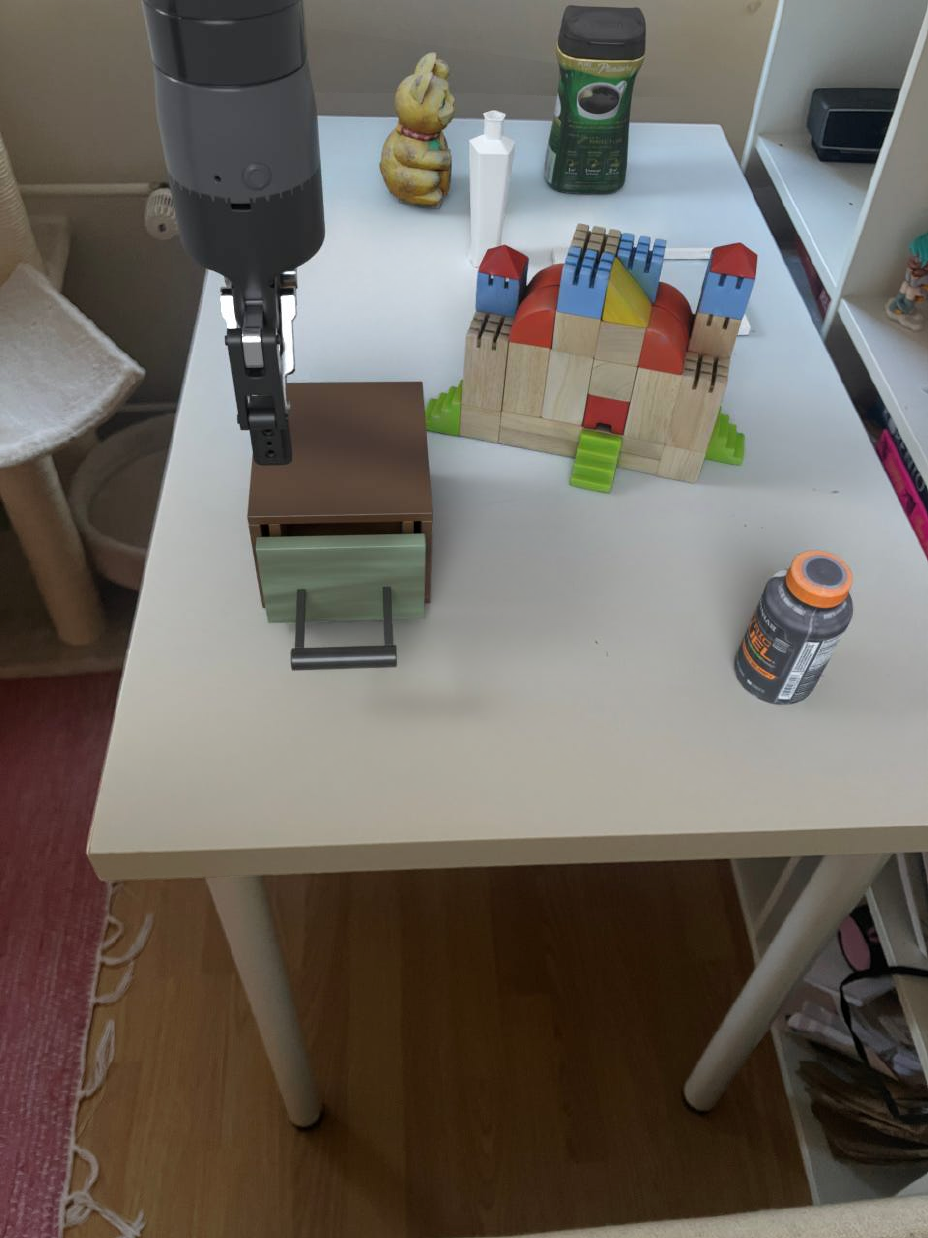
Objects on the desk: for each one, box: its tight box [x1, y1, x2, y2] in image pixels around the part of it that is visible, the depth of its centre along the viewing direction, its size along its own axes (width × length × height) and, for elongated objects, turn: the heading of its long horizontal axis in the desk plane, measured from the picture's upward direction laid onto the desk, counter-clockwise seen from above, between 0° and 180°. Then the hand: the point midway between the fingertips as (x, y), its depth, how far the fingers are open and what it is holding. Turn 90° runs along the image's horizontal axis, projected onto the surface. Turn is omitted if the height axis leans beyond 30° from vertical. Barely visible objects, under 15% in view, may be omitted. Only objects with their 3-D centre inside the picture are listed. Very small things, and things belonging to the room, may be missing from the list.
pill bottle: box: [733, 549, 854, 706], centre depth 69 cm, size 6×6×11 cm
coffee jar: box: [543, 4, 647, 195], centre depth 112 cm, size 10×8×19 cm
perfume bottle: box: [466, 109, 516, 268], centre depth 102 cm, size 5×4×15 cm
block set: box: [425, 222, 758, 494], centre depth 82 cm, size 28×14×19 cm, turn 76°
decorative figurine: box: [378, 51, 456, 209], centre depth 109 cm, size 10×8×15 cm
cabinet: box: [246, 381, 434, 609], centre depth 77 cm, size 15×13×10 cm
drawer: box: [256, 521, 426, 672], centre depth 73 cm, size 20×11×8 cm, turn 4°
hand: (276, 414), depth 62 cm, fingers open, 8 cm apart
